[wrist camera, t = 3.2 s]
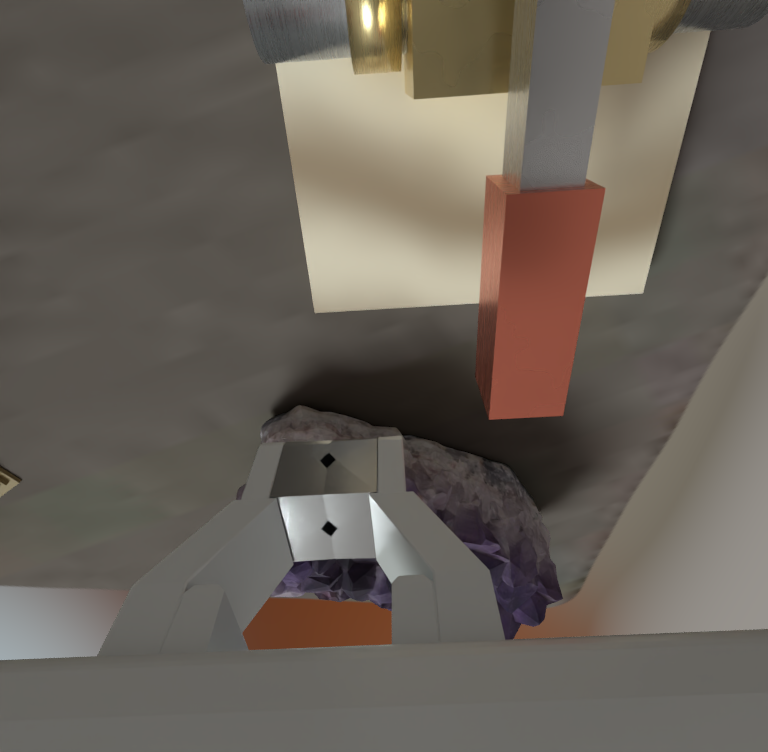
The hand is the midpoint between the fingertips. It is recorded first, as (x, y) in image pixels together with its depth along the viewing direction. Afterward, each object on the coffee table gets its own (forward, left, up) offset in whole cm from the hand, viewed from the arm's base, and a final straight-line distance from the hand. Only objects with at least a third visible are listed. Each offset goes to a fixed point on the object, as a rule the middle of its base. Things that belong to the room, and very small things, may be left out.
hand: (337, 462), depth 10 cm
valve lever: (-4, +6, -8) cm, 10 cm away
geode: (+16, +2, -16) cm, 22 cm away
